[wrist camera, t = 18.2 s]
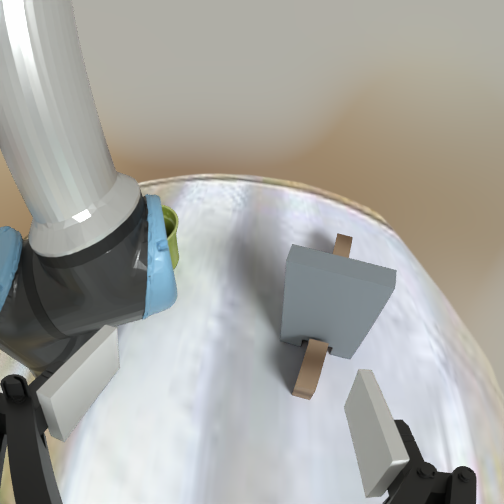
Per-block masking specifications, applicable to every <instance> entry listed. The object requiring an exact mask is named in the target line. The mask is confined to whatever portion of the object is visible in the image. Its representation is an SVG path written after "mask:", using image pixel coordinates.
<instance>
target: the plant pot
mask: <svg viewBox="0 0 504 504" xmlns="http://www.w3.org/2000/svg"><path fill="white" fill-rule="evenodd" d="M161 206H162V212H163V217H164V223H165V229H166V235H167V240H168V247H169V251H170V256H171V261H172V267H173V269H174V268H175V267H176V265H177V263H178V260H179V254H178V247H177V238H176V232H177V228H178V216H177V214H176V213H175V211H174V210H173V209H171V208H170V207H168V206H165V205H161Z"/></svg>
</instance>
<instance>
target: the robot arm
mask: <svg viewBox="0 0 504 504" xmlns="http://www.w3.org/2000/svg"><path fill="white" fill-rule="evenodd" d="M0 149H1V151H2V154H3V156H4V159H5V161H6V163H7V166H8V168H9V170H10V172H11V174H12V177H13V179H14V181H15V183H16V185H17V187H18V189H19V191H20V193H21V195H22V197H23V199H24V201H25V203H26V205H27V207H28V209H29V211H30V213H31V215H32V217H33V220H32V224H31V228H30V232H29V239H27V240H23V239H22V236H21V234H20V233H19V231H16V230H15V229H13V228H11V227H9V226H4V227H1V228H0V349H1V350H2V351H3V352H5V353H6V354H8V355H9V356H11V357H12V358H14V359H15V360H17V361H18V362H20V363H21V364H23V365H24V366H26V367H28V368H29V370H30V371H31V372H32V374H33V375H34V377H35V378H36V379H35V380H34V381H33V382H32V383H31V384H30V385H29V386H28V384H27V381H26V379H25V378H24V377H23V376H20V375H16V374H13V375H8V376H6V377H4V378H3V379H2V380H1V383H0V385H1V388H2V391H3V393H0V486H1V478H2V471H3V464H4V458H5V452H6V447H7V446H8V457H9V465H10V473H11V479H12V485H13V491H14V497H15V502H16V504H63V503H62V500H61V497H60V494H59V490H58V487H57V483H56V480H55V476H54V472H53V468H52V464H51V460H50V456H49V451H48V446H47V441H46V436H45V434H44V432H45V430H46V429H47V428H48V429H49V432H50V434H51V436H53V437H55V438H57V439H59V440H61V441H63V442H65V441H66V439H67V438H68V437H69V435H70V434H71V432H72V431H73V430H74V428H75V427H76V426H77V424H78V423H79V422H80V420H81V419H82V417H83V416H84V415H85V413H86V412H87V411H88V409H89V408H90V407H91V405H92V404H93V403H94V401H95V400H96V399H97V397H98V396H99V395H100V393H101V392H102V391H103V389H104V388H105V387H106V385H107V384H108V383H109V381H110V380H111V379H112V377H113V376H114V375H115V374H116V372H117V371H118V370H119V368H120V365H119V351H118V333H117V328H116V327H114V326H118V325H122V324H126V323H129V322H133V321H137V320H140V319H146V318H147V317H148V316H150V315H153V314H155V313H158V312H161V311H164V310H166V309H168V308H170V307H171V306H172V305H173V304H174V303H175V301H176V299H177V287H176V282H175V277H174V271H173V267H172V261H171V256H170V251H169V247H168V240H167V235H166V229H165V223H164V217H163V212H162V206H161V200H160V198H159V196H157V195H148V194H147V195H145V196H144V197H143V196H142V193H141V190H140V187H139V185H138V183H137V181H136V180H135V179H134V178H132V177H130V176H128V175H125V174H122V173H119V172H117V171H116V170H115V167H114V164H113V161H112V158H111V155H110V152H109V149H108V146H107V143H106V139H105V137H104V133H103V130H102V127H101V123H100V120H99V116H98V113H97V110H96V106H95V103H94V99H93V95H92V92H91V88H90V84H89V80H88V76H87V72H86V68H85V64H84V60H83V56H82V51H81V47H80V42H79V37H78V33H77V28H76V22H75V17H74V11H73V6H72V0H0ZM344 409H345V413H346V417H347V421H348V425H349V429H350V433H351V437H352V441H353V445H354V449H355V453H356V457H357V461H358V466H359V470H360V474H361V478H362V483H363V487H364V492H365V496H366V498H370V497H381V496H382V495H383V494H384V493H385V492H386V490H388V493H389V497H388V498H387V499H386V500H385V501H384V502H383V504H476V474H475V473H474V471H473V470H472V469H470V468H468V467H465V466H460V467H457V468H456V469H455V470H454V471H453V472H452V473H445V472H438V471H437V469H436V468H435V467H434V466H433V465H432V464H430V463H427V462H424V460H423V457H422V455H421V453H420V451H419V448H418V446H417V444H416V442H415V441H414V440H415V439H414V437H413V435H412V433H411V431H410V428H409V426H408V425H407V424H406V423H405V422H404V421H403V420H393V417H392V415H391V413H390V410H389V408H388V406H387V403H386V401H385V399H384V397H383V394H382V392H381V390H380V387H379V385H378V383H377V381H376V379H375V376H374V374H373V372H372V370H365V369H359V370H358V372H357V375H356V378H355V380H354V383H353V386H352V388H351V391H350V393H349V396H348V398H347V401H346V403H345V406H344Z"/></svg>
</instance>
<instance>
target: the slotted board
mask: <svg viewBox="0 0 504 504" xmlns="http://www.w3.org/2000/svg"><path fill="white" fill-rule="evenodd" d="M351 243H352V237H350V236H346V235H342V234H338V233H337V238H336V242H335V246H334V250H333V254H334V255H338V256H342V257H346V258H349V253H350V248H351ZM328 345H329V343H325V342H321V341H317V340H314V339H309V343H308V346H307V349H306V353H305V356H304V359H303V362H302V365H301V369H300V372H299V375H298V378H297V381H296V384H295V387H294V390H293V393H292V395H294V396H297V397H301V398H305V399H308V400H310V399H311V397H312V396H313V394H314V392H315V390H316V387H317V384H318V380H319V377H320V373H321V370H322V366H323V363H324V359H325V356H326V352H327V348H328Z"/></svg>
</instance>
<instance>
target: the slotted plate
mask: <svg viewBox="0 0 504 504" xmlns="http://www.w3.org/2000/svg"><path fill="white" fill-rule="evenodd" d="M396 271H397V270H393V269H390V268H386V267H382V266H378V265H374V264H370V263H366V262H362V261H358V260H354V259H350V258H346V257H342V256H338V255H334V254H330V253H326V252H322V251H318V250H314V249H310V248H306V247H302V246H298V245H294V244H292V246H291V249H290V252H289V254H288V257H287V260H286V272H285V286H284V300H283V312H282V325H281V337H280V341H283V342H286V343H290V344H293V345H297V346H300V347H301V343H302V340H306V341H309V339H314V340H317V341H321V342H325V343H329V345H328V346H329V347H332V349H331V353H330V354H331V355H334V356H338V357H342V358H347V359H351V358H352V356H353V355H354V353H355V352H356V350H357V349H358V347H359V346H360V344H361V343H362V341H363V340H364V338H365V337H366V335H367V333H368V332H369V330H370V329H371V327H372V326H373V324H374V322H375V321H376V319H377V318H378V316H379V314H380V313H381V311H382V309H383V308H384V306H385V304H386V303H387V301H388V299H389V298H390V296H391V294H392V293H393V291H394V289H395V283H396Z"/></svg>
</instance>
